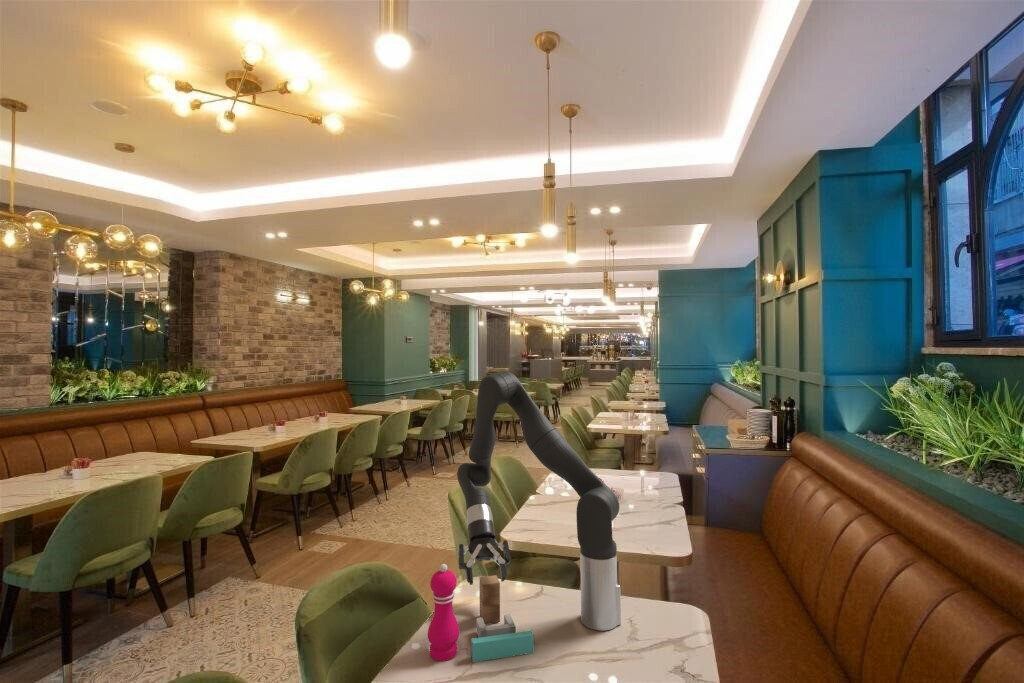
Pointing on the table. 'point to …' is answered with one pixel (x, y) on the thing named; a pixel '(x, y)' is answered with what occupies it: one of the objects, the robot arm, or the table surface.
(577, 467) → the robot arm
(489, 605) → the peg
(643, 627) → the table surface
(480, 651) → the wall
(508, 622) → the frame
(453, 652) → the pepper mill
